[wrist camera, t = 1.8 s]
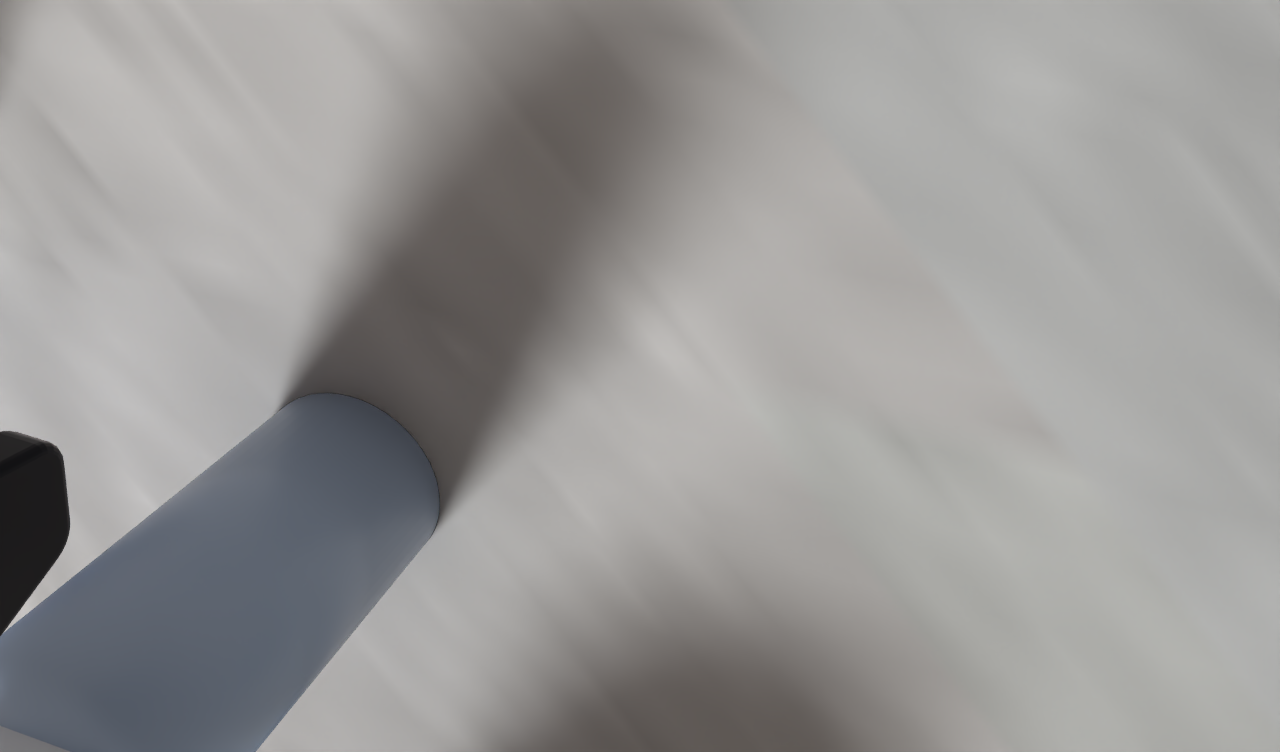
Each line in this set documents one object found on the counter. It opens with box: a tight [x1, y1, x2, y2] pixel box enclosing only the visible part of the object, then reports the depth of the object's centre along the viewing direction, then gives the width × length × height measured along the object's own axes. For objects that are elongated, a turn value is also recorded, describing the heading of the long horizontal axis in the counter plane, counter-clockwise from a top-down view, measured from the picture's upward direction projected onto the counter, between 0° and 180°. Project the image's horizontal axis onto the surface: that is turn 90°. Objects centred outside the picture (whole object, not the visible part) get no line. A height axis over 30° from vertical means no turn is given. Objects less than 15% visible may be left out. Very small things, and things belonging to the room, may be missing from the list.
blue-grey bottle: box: [0, 393, 440, 752], centre depth 21 cm, size 4×4×11 cm
